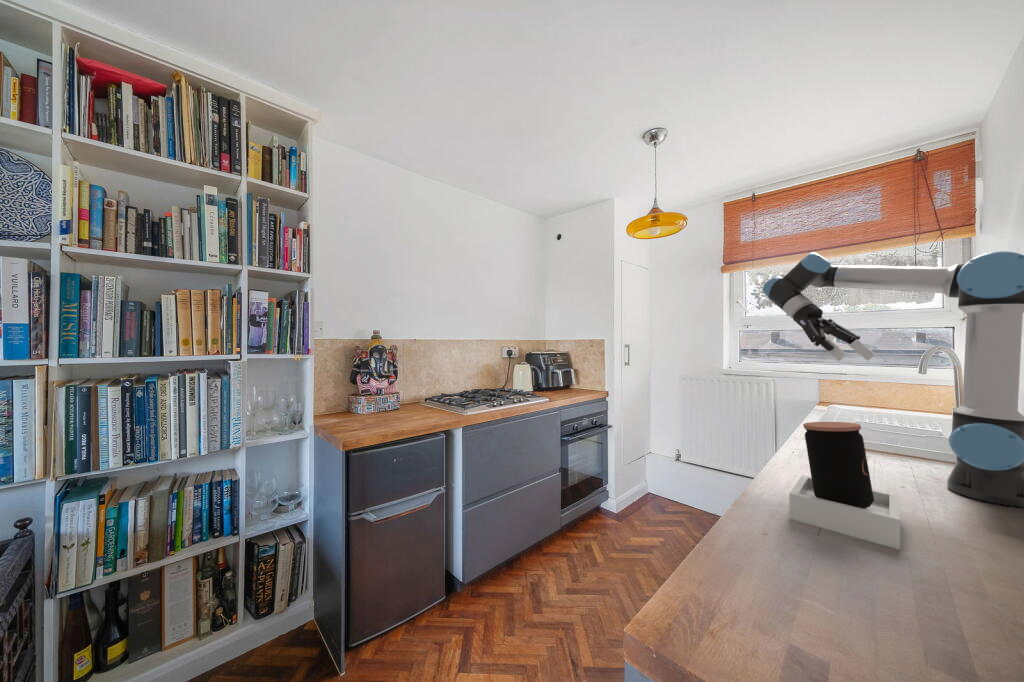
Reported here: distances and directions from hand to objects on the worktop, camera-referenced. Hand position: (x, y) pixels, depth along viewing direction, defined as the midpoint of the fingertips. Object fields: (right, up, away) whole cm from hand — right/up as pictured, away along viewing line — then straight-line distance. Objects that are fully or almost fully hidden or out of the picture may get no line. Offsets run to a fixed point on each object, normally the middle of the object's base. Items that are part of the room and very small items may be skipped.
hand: (857, 357), depth 109 cm
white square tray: (-24, -38, -22) cm, 50 cm away
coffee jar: (-24, -33, -22) cm, 47 cm away
